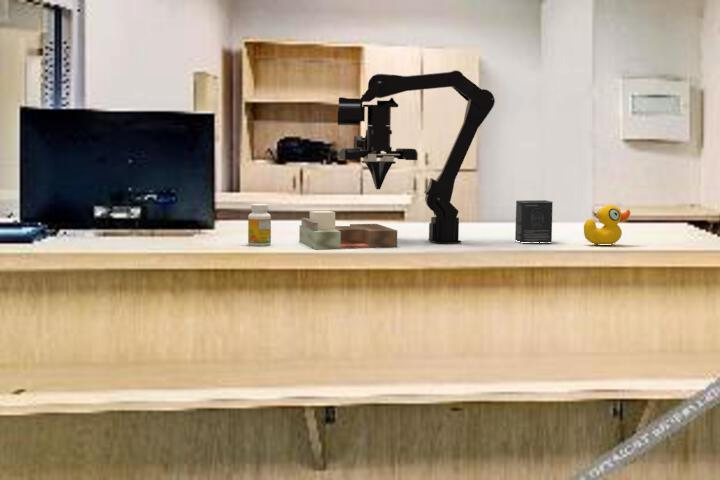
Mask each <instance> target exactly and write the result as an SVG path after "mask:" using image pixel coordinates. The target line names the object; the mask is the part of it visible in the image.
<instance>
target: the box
mask: <svg viewBox="0 0 720 480" xmlns="http://www.w3.org/2000/svg"><path fill="white" fill-rule="evenodd" d="M515 205H516V206H515V237H514V238H515V240H517V241H520V242H539V243H538V244H541V243H540V242H552V243H553V241H552V237H553V234H552V233H553V201H550V200H545V199H544V200H542V199H541V200H539V199H538V200H537V199H536V200H532V199H531V200H527V199H526V200H516V203H515Z"/></svg>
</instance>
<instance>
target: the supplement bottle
mask: <svg viewBox="0 0 720 480" xmlns="http://www.w3.org/2000/svg"><path fill="white" fill-rule="evenodd" d="M250 210H251V213H249V214H248V217H247V222H248V223H247V229H248V230H247V234H248V235H247V236H248V239H247V243H248V245H249V246H252V247H254V246H255V247H266V246H271V242H272V230H271V229H272V215H271V214H270V213H268V210H269V205H268V204H267V203H252V204H251V206H250Z"/></svg>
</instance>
